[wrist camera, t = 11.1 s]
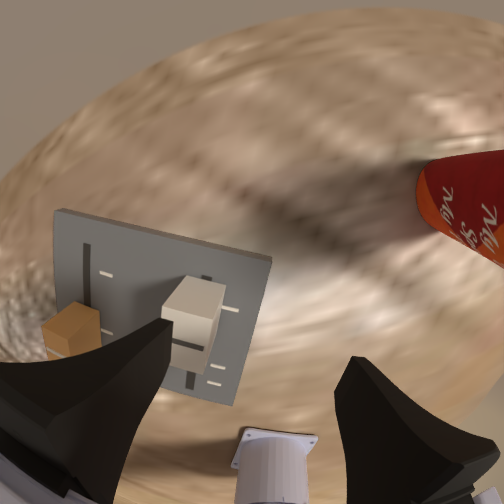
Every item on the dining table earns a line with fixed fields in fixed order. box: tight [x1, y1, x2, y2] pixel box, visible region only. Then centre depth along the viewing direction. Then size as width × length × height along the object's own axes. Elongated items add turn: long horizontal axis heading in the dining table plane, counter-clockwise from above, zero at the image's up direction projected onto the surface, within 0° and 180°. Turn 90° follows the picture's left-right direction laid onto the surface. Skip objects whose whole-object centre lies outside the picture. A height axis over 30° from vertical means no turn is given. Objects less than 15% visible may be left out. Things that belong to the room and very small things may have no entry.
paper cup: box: [416, 150, 504, 268], centre depth 10 cm, size 8×8×14 cm
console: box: [54, 208, 272, 406], centre depth 21 cm, size 14×18×1 cm
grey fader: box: [161, 275, 226, 375], centre depth 17 cm, size 4×3×5 cm
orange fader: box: [41, 301, 102, 361], centre depth 18 cm, size 4×3×5 cm
